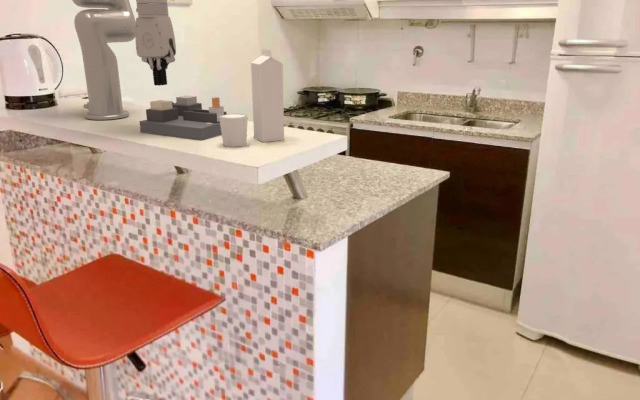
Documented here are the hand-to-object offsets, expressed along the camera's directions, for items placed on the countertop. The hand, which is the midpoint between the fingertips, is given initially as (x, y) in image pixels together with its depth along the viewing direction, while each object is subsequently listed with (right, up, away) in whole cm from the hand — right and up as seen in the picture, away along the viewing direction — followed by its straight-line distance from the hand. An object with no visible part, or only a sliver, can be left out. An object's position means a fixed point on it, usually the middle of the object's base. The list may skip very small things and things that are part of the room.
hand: (160, 84), depth 141 cm
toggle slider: (+15, -9, +1) cm, 17 cm away
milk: (+29, -15, -5) cm, 33 cm away
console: (+8, -11, +6) cm, 15 cm away
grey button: (+4, -4, +11) cm, 13 cm away
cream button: (-1, -7, +3) cm, 8 cm away
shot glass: (+21, -17, -11) cm, 29 cm away
